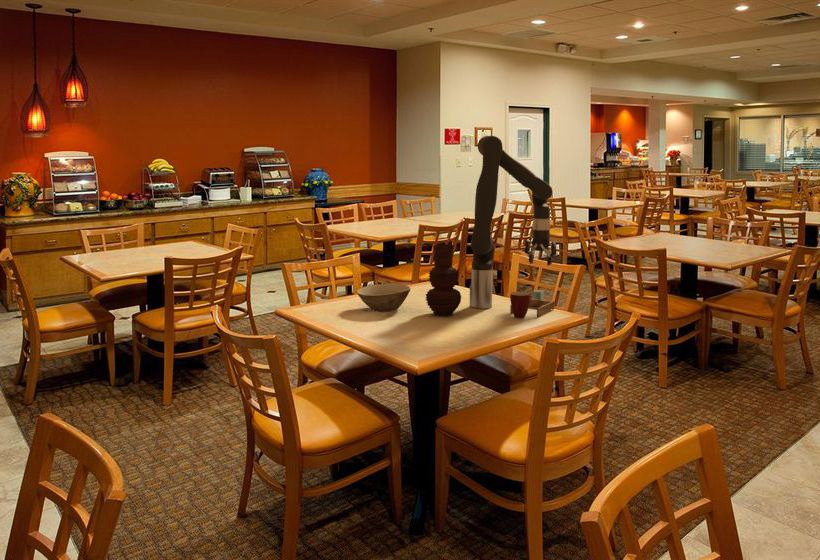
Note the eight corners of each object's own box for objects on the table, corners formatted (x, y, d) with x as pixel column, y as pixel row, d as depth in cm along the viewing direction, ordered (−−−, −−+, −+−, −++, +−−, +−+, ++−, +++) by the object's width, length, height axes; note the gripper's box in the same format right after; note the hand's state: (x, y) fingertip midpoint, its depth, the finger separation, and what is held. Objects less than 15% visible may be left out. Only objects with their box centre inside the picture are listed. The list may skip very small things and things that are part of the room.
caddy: (510, 313, 296) (510, 305, 295) (526, 305, 310) (526, 298, 309) (538, 317, 289) (538, 308, 288) (553, 309, 303) (554, 301, 302)
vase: (417, 314, 295) (417, 245, 289) (441, 308, 306) (441, 241, 300) (445, 320, 284) (445, 248, 279) (468, 314, 295) (469, 244, 290)
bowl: (347, 313, 298) (347, 291, 296) (371, 302, 320) (370, 281, 318) (397, 318, 290) (397, 294, 288) (418, 306, 311) (418, 284, 309)
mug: (527, 321, 282) (528, 297, 281) (508, 319, 284) (508, 296, 283) (530, 315, 292) (530, 292, 291) (511, 314, 294) (511, 291, 293)
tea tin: (532, 304, 314) (532, 291, 313) (535, 302, 317) (536, 289, 316) (540, 305, 312) (540, 292, 311) (543, 303, 315) (544, 290, 314)
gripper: (522, 228, 308) (522, 264, 311) (552, 230, 300) (551, 266, 303) (530, 226, 314) (529, 261, 317) (559, 228, 306) (558, 264, 309)
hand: (540, 264), depth 310 cm, fingers open, 8 cm apart
